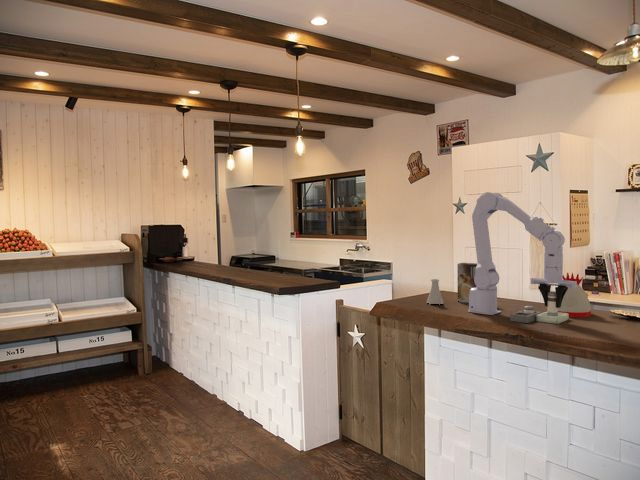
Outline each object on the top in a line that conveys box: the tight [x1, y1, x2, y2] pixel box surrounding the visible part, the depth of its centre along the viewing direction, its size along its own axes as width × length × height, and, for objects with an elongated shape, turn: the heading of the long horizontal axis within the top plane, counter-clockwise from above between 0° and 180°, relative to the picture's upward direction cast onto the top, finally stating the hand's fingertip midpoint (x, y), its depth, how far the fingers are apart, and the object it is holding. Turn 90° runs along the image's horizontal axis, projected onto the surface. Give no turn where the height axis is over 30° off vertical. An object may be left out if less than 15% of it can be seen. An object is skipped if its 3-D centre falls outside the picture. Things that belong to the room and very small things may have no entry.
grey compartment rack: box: [509, 305, 542, 324], centre depth 171 cm, size 6×11×4 cm, turn 134°
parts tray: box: [535, 311, 570, 325], centre depth 169 cm, size 7×10×2 cm
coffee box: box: [456, 262, 478, 304], centre depth 206 cm, size 9×6×16 cm
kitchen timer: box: [553, 272, 592, 318], centre depth 181 cm, size 14×14×15 cm
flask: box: [425, 278, 445, 306], centre depth 203 cm, size 7×7×10 cm
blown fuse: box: [546, 290, 558, 316], centre depth 169 cm, size 3×3×8 cm
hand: (552, 306), depth 169 cm, fingers closed on blown fuse, 3 cm apart
